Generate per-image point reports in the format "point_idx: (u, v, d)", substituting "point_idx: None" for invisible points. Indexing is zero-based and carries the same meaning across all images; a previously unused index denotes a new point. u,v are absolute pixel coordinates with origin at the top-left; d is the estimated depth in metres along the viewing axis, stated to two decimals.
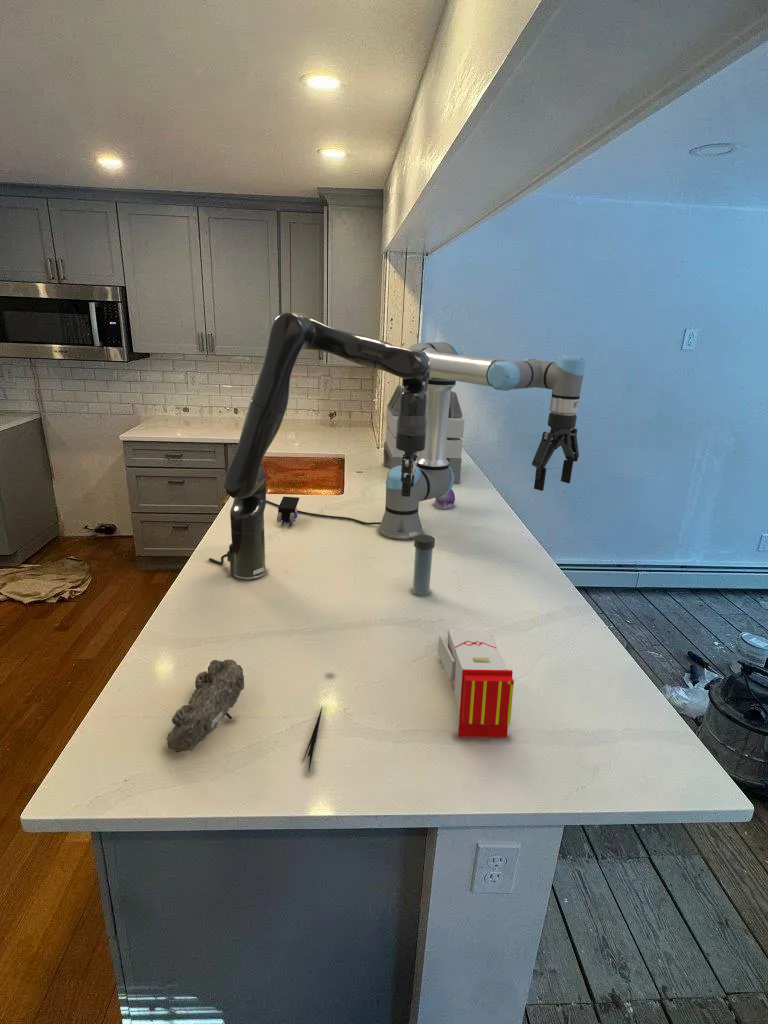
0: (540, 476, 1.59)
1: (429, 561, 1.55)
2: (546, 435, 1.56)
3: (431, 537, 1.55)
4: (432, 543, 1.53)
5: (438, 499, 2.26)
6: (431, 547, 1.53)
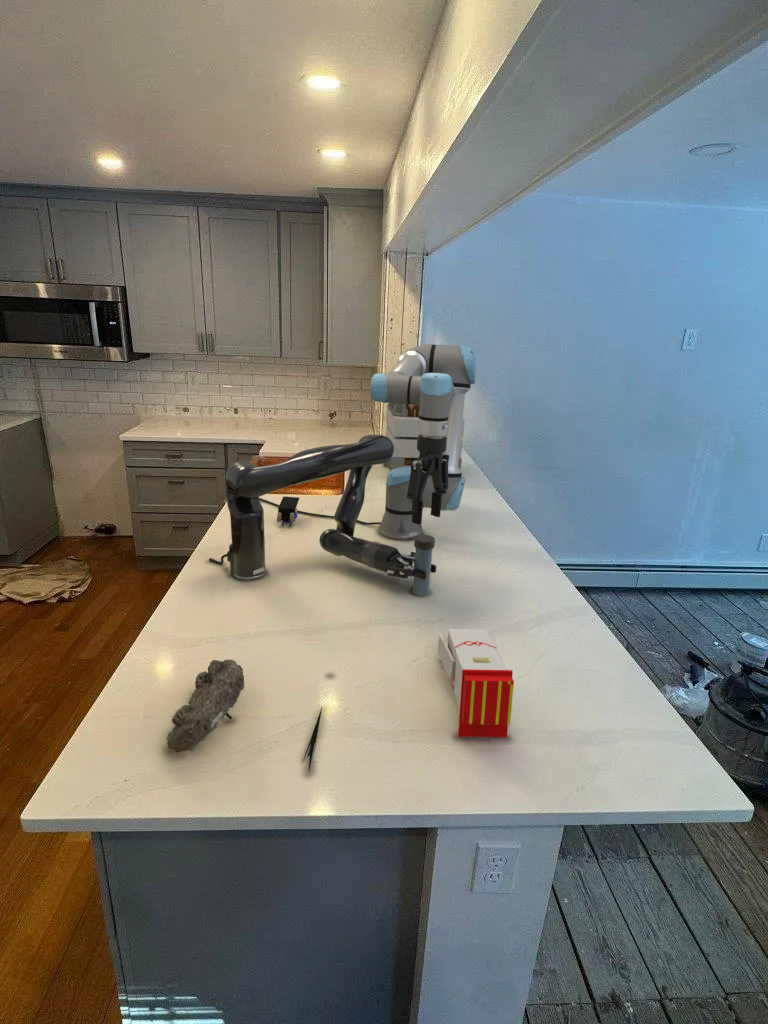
0: (417, 509, 1.47)
1: (429, 561, 1.55)
2: (414, 465, 1.42)
3: (431, 537, 1.55)
4: (432, 543, 1.53)
5: None
6: (431, 547, 1.53)
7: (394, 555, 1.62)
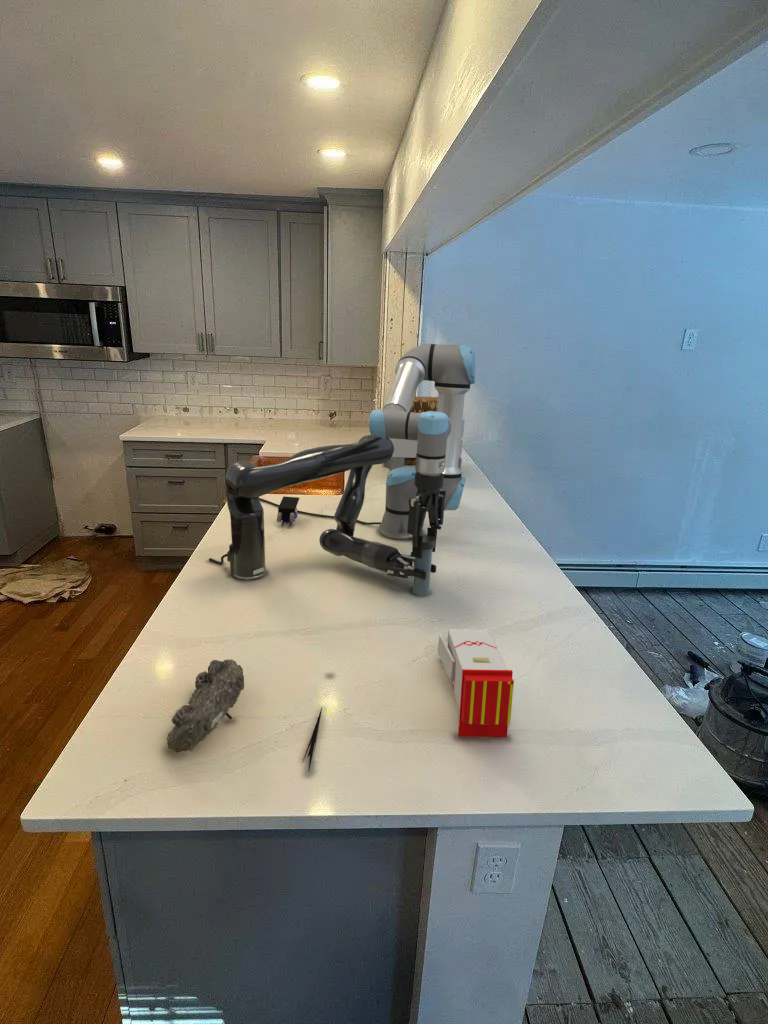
0: (417, 544, 1.51)
1: (429, 561, 1.55)
2: (412, 503, 1.45)
3: (431, 537, 1.55)
4: (432, 543, 1.53)
5: None
6: (431, 547, 1.53)
7: (394, 555, 1.62)
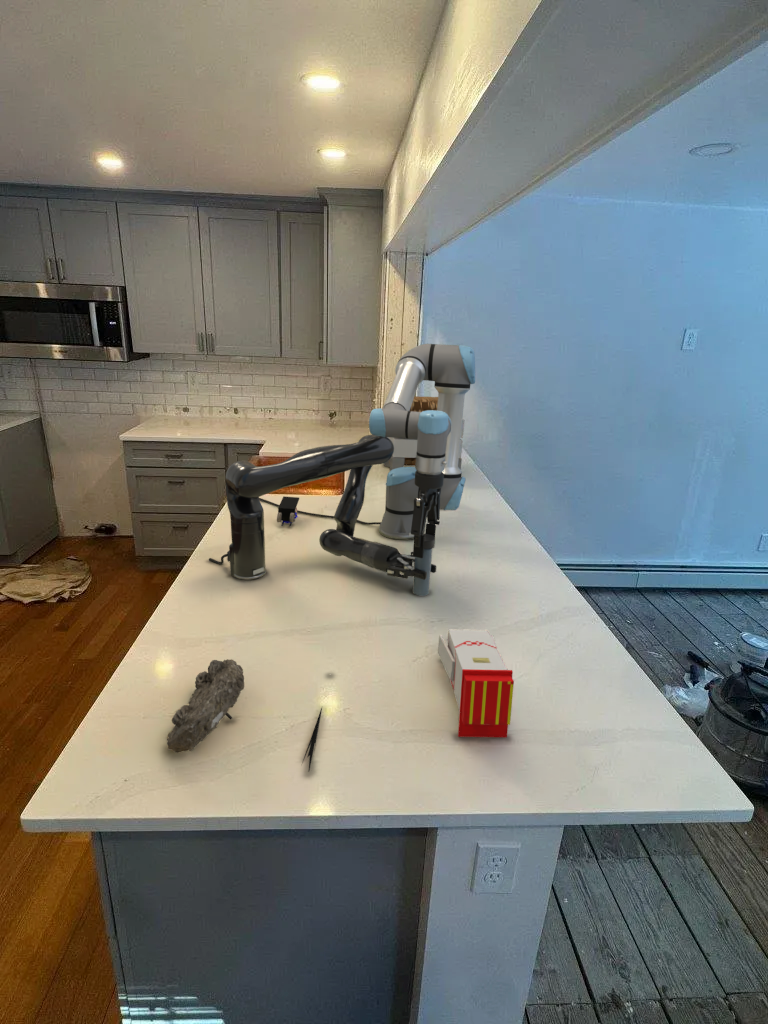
0: (419, 544, 1.49)
1: (429, 561, 1.55)
2: (418, 502, 1.44)
3: None
4: None
5: None
6: None
7: (394, 555, 1.62)
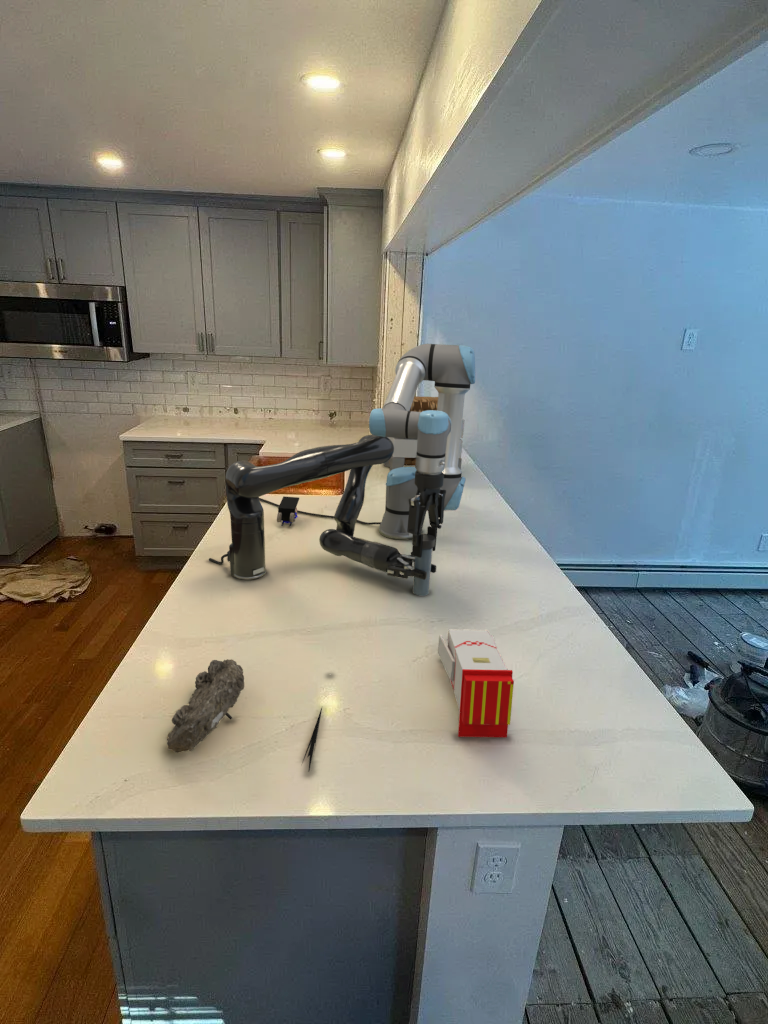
0: (417, 543, 1.51)
1: (429, 561, 1.55)
2: (412, 502, 1.45)
3: None
4: None
5: None
6: None
7: (394, 555, 1.62)
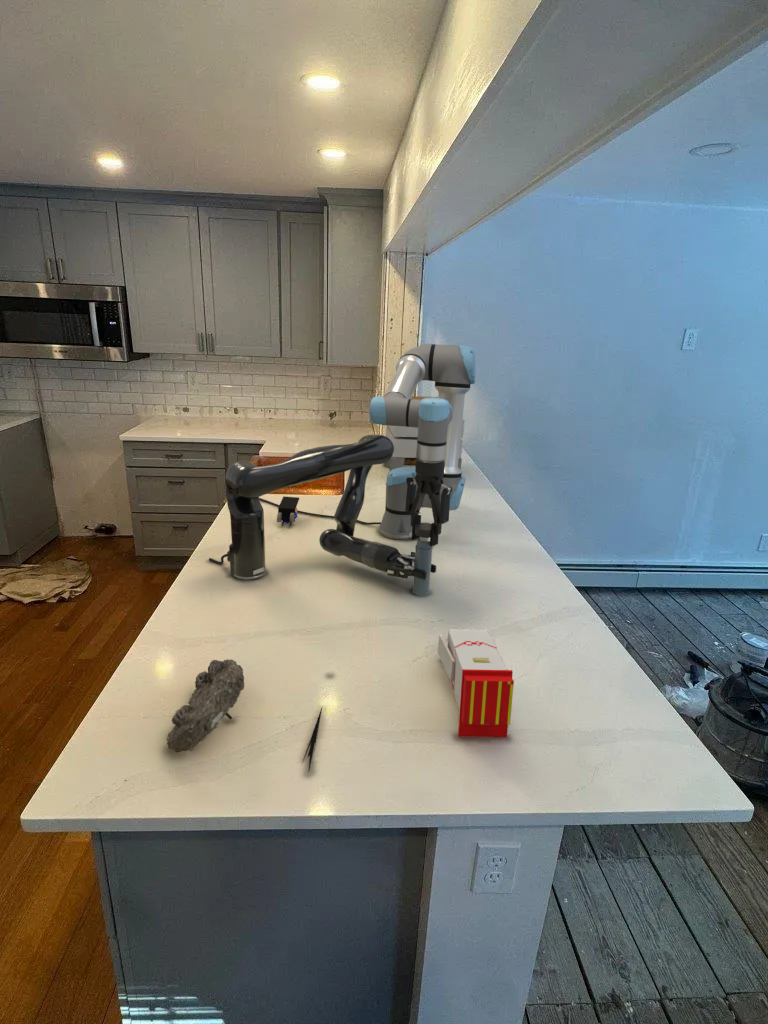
0: None
1: (429, 561, 1.55)
2: (449, 491, 1.45)
3: (418, 527, 1.52)
4: None
5: None
6: None
7: (394, 555, 1.62)
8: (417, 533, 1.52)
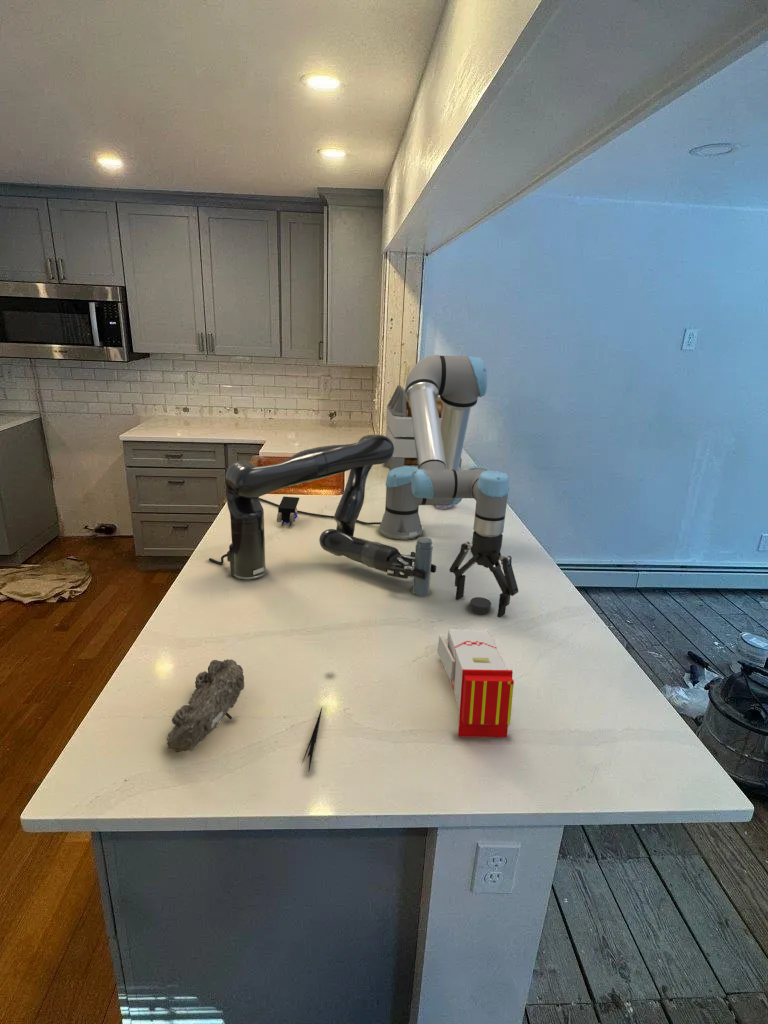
0: None
1: (429, 561, 1.55)
2: (509, 560, 1.42)
3: (474, 603, 1.50)
4: None
5: None
6: None
7: (394, 555, 1.62)
8: (472, 609, 1.50)
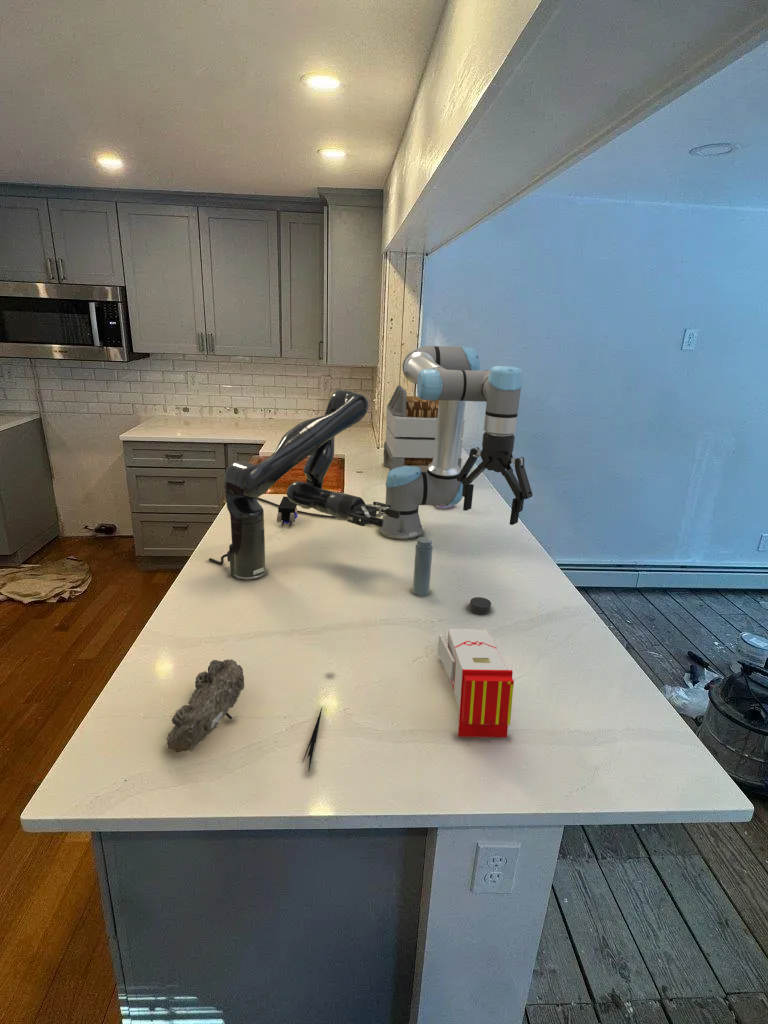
0: None
1: (429, 561, 1.55)
2: (522, 461, 1.33)
3: (474, 603, 1.50)
4: None
5: None
6: None
7: (358, 505, 1.64)
8: (472, 609, 1.50)
